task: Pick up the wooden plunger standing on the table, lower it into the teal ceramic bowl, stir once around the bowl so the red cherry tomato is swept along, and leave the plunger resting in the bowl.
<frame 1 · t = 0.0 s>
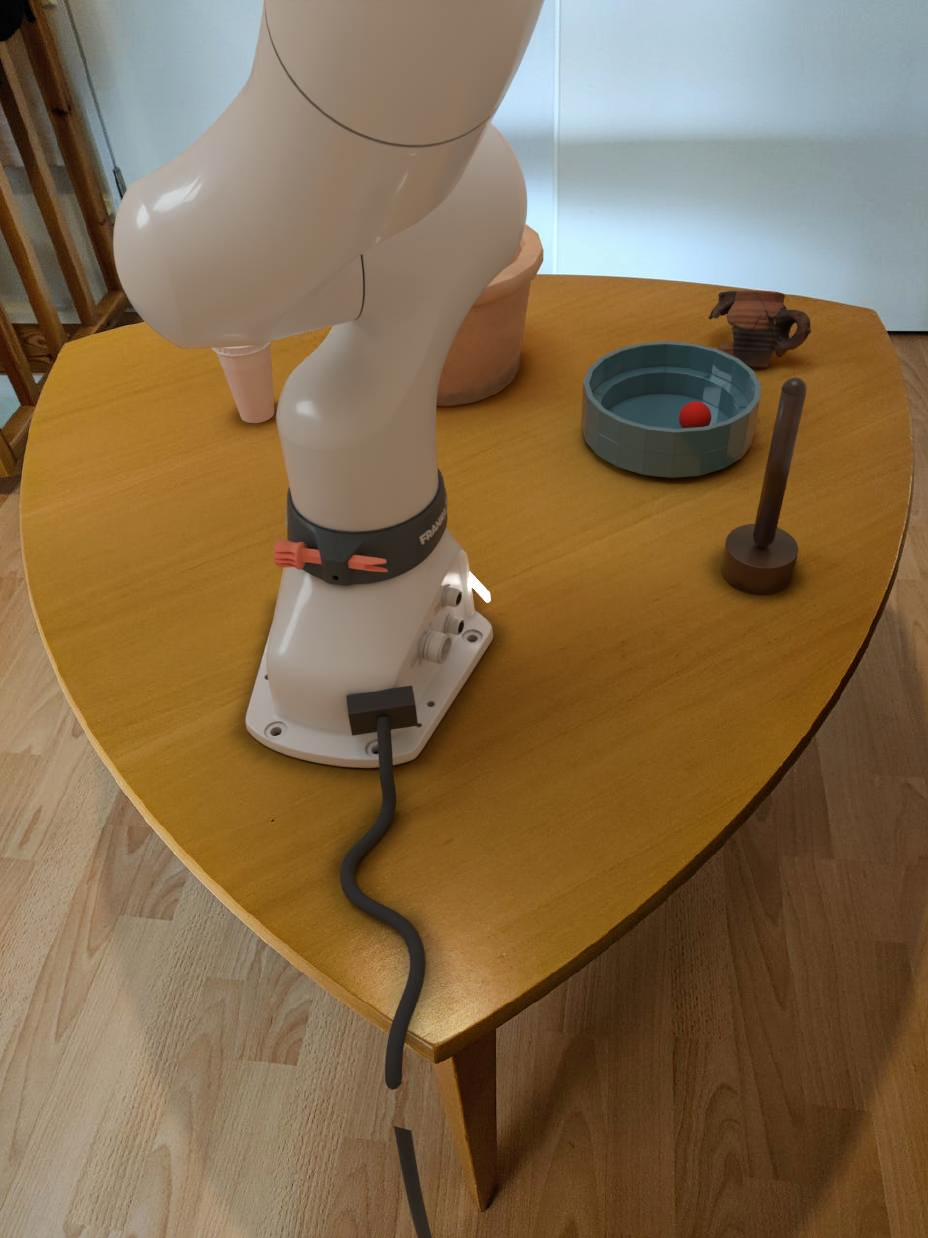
smoothie: (257, 415, 110), on the table
pottery: (446, 370, 115), on the table
bowl: (665, 435, 103), on the table
pottery mug: (753, 353, 115), on the table
wooden plunger: (756, 571, 87), on the table
cherry tomato: (695, 417, 101), point 2 cm above the table, tilted 79°, touching bowl
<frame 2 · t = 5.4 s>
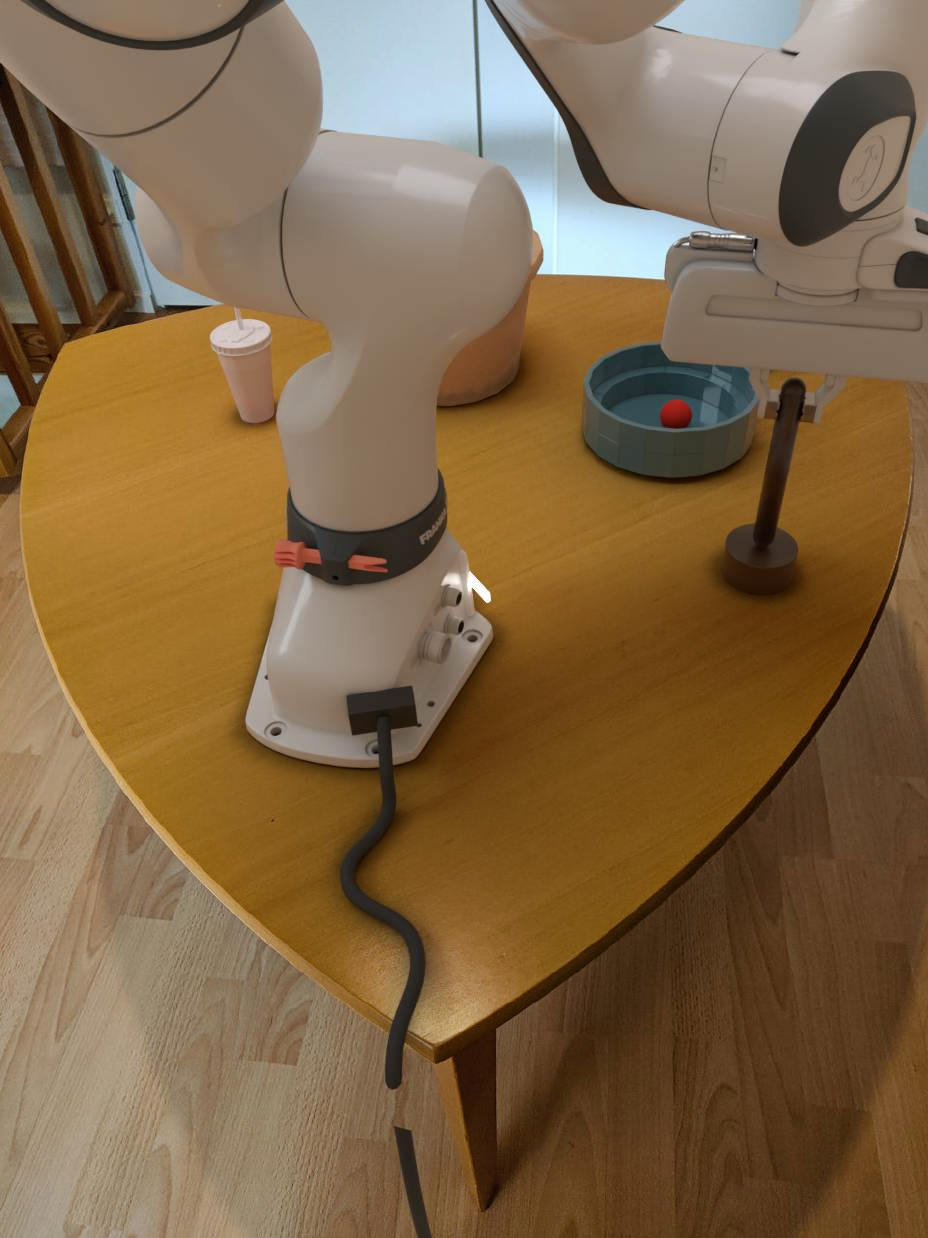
hand: (788, 417, 76), 16 cm above the table, tool pointing down, fingers closed on wooden plunger
wooden plunger: (756, 571, 87), on the table, touching gripper
cherry tomato: (675, 415, 101), point 2 cm above the table, tilted 144°, touching bowl
everything else where it was.
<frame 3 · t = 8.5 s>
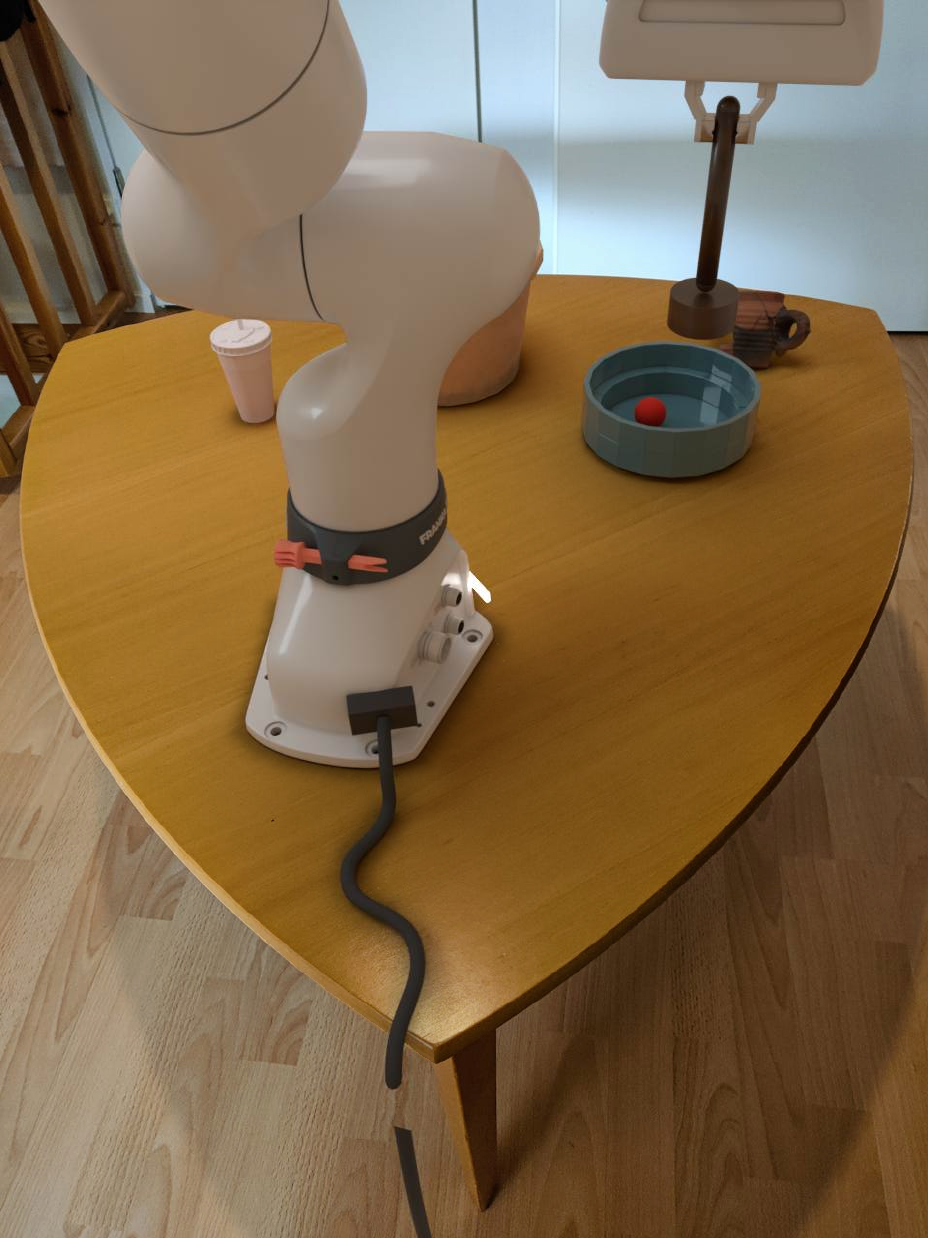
hand: (724, 141, 79), 30 cm above the table, tool pointing down, fingers closed on wooden plunger
wooden plunger: (700, 323, 90), point 15 cm above the table, touching gripper
cherry tomato: (650, 413, 102), point 2 cm above the table, tilted 123°, touching bowl
everything else where it was.
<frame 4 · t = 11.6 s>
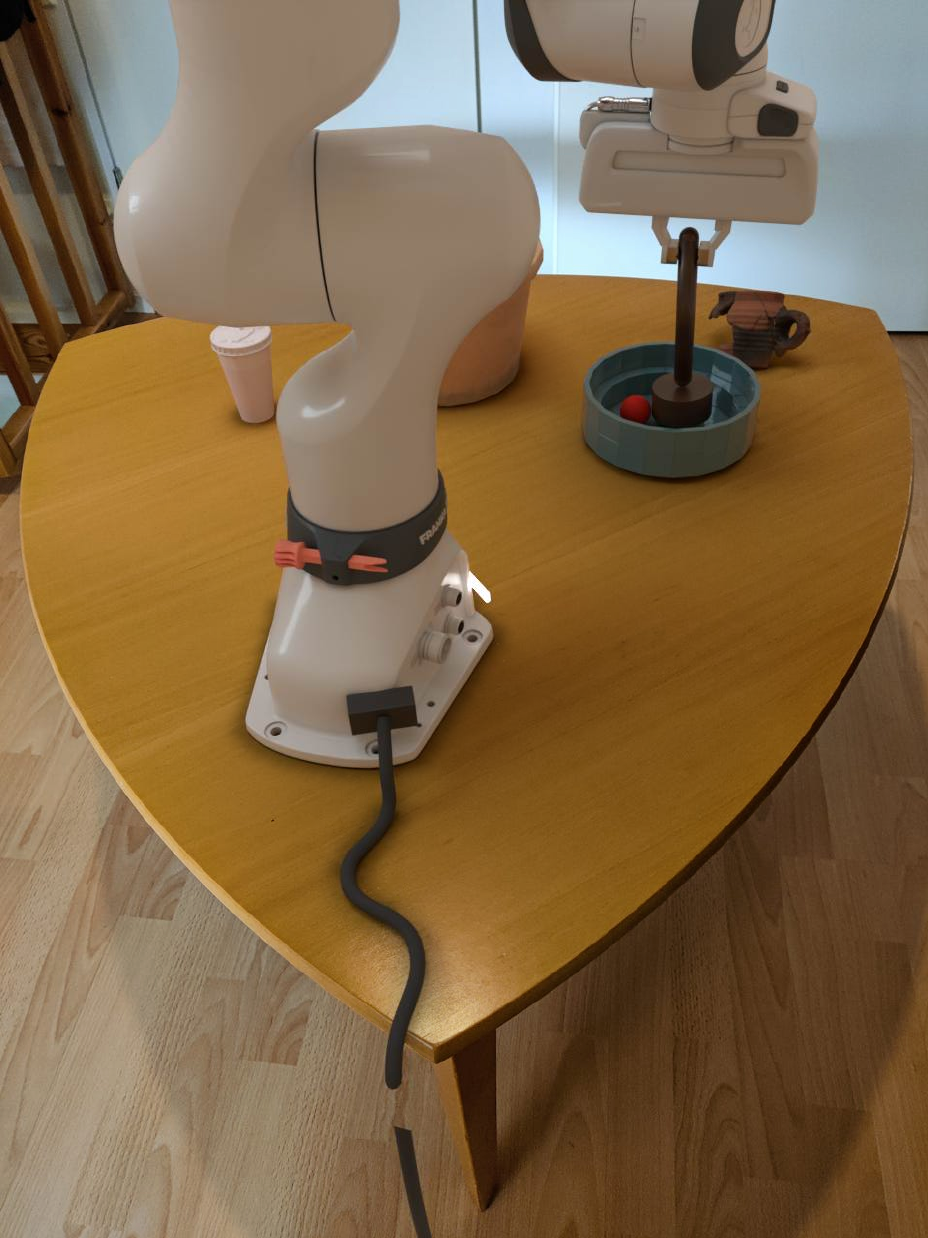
hand: (687, 262, 91), 18 cm above the table, tool pointing down, fingers closed on wooden plunger
wooden plunger: (681, 412, 102), point 2 cm above the table, touching gripper
cherry tomato: (635, 410, 102), point 2 cm above the table, tilted 69°, touching bowl
everything else where it was.
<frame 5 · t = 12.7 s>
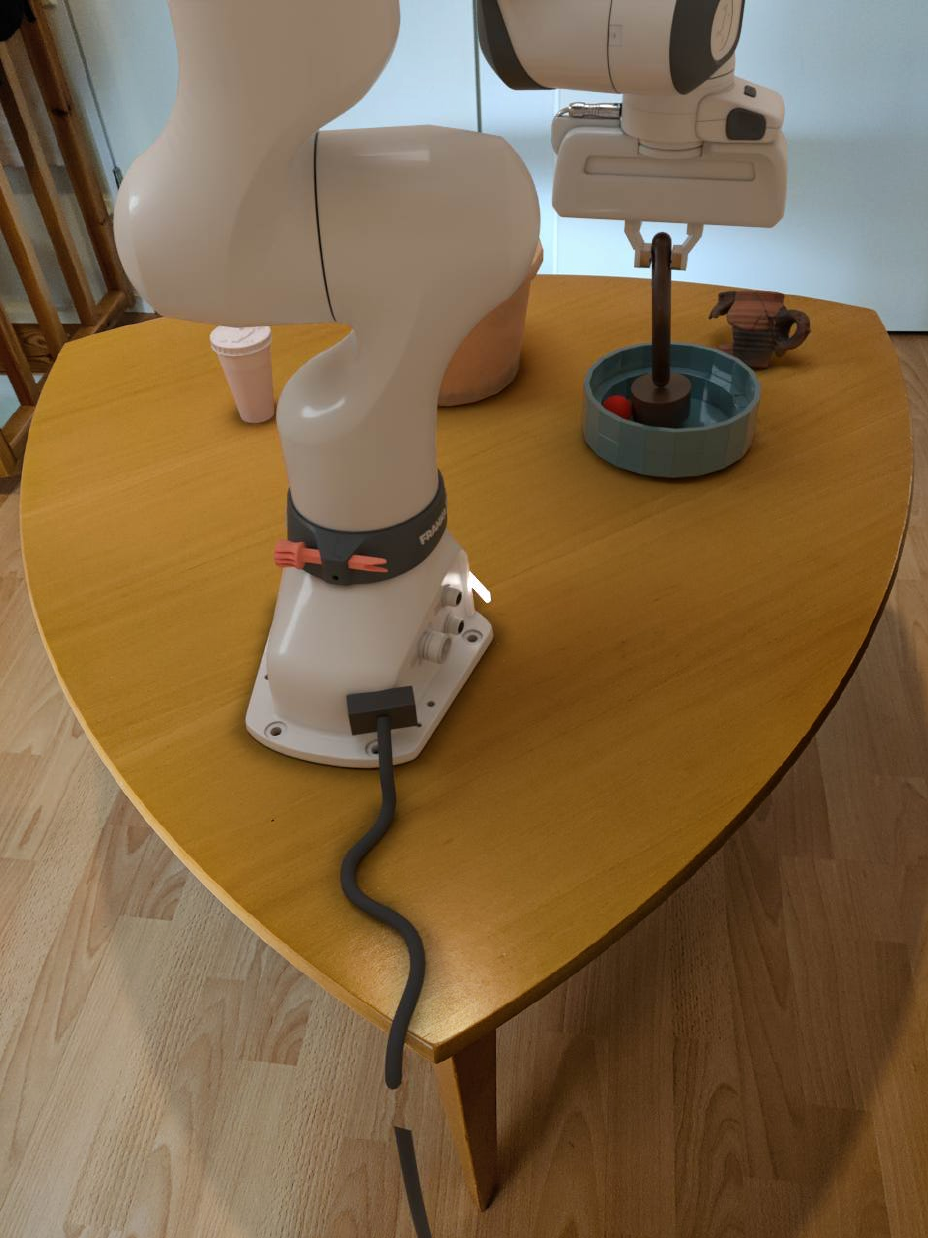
hand: (660, 266, 92), 17 cm above the table, tool pointing down, fingers closed on wooden plunger
wooden plunger: (660, 412, 103), point 2 cm above the table, tilted 5°, touching cherry tomato, gripper
cherry tomato: (616, 411, 102), point 2 cm above the table, tilted 13°, touching bowl, wooden plunger
everything else where it was.
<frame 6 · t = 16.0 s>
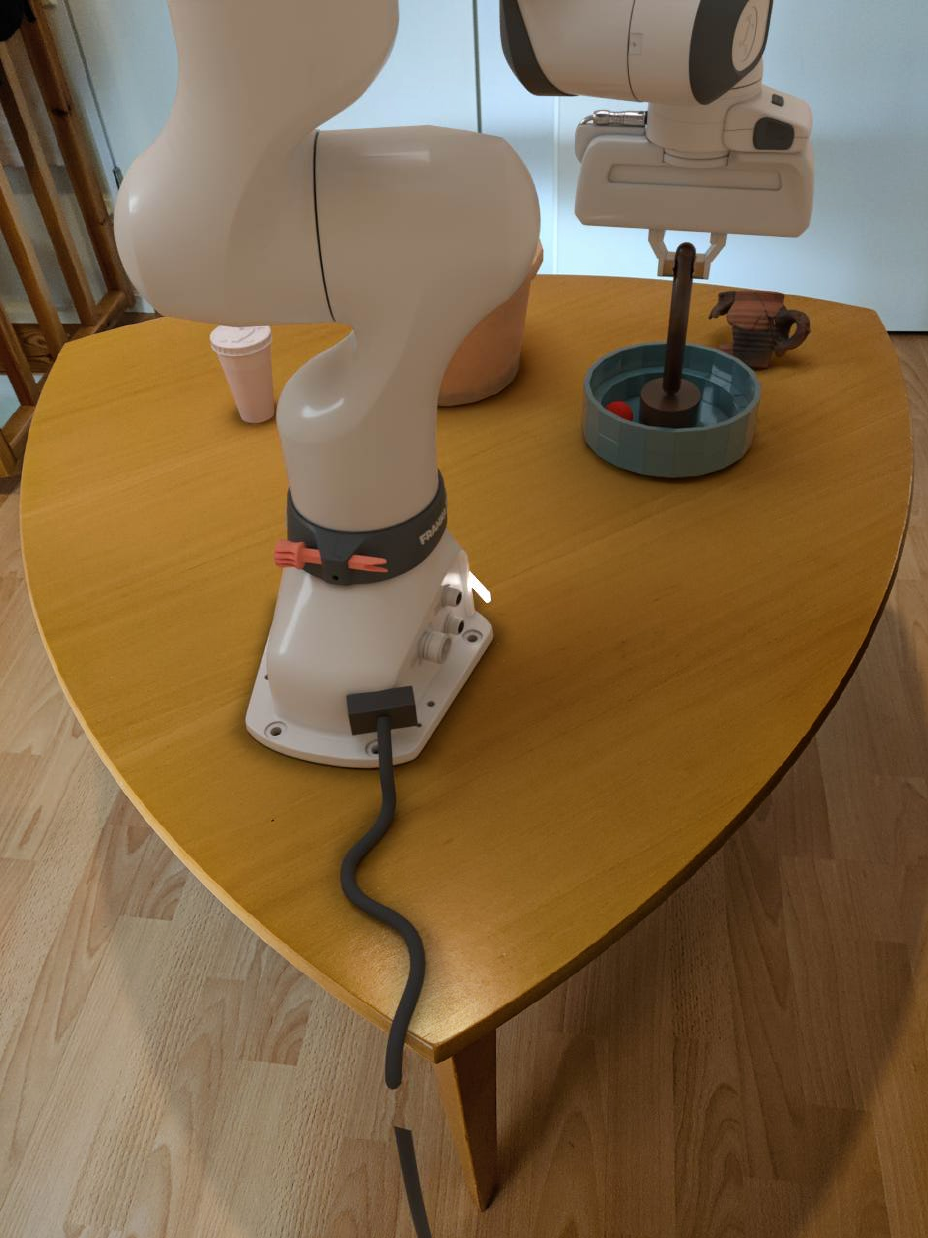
hand: (683, 275, 91), 17 cm above the table, tool pointing down, fingers closed on wooden plunger
wooden plunger: (667, 418, 103), point 1 cm above the table, touching gripper
cherry tomato: (617, 417, 101), point 2 cm above the table, tilted 48°, touching bowl
everything else where it was.
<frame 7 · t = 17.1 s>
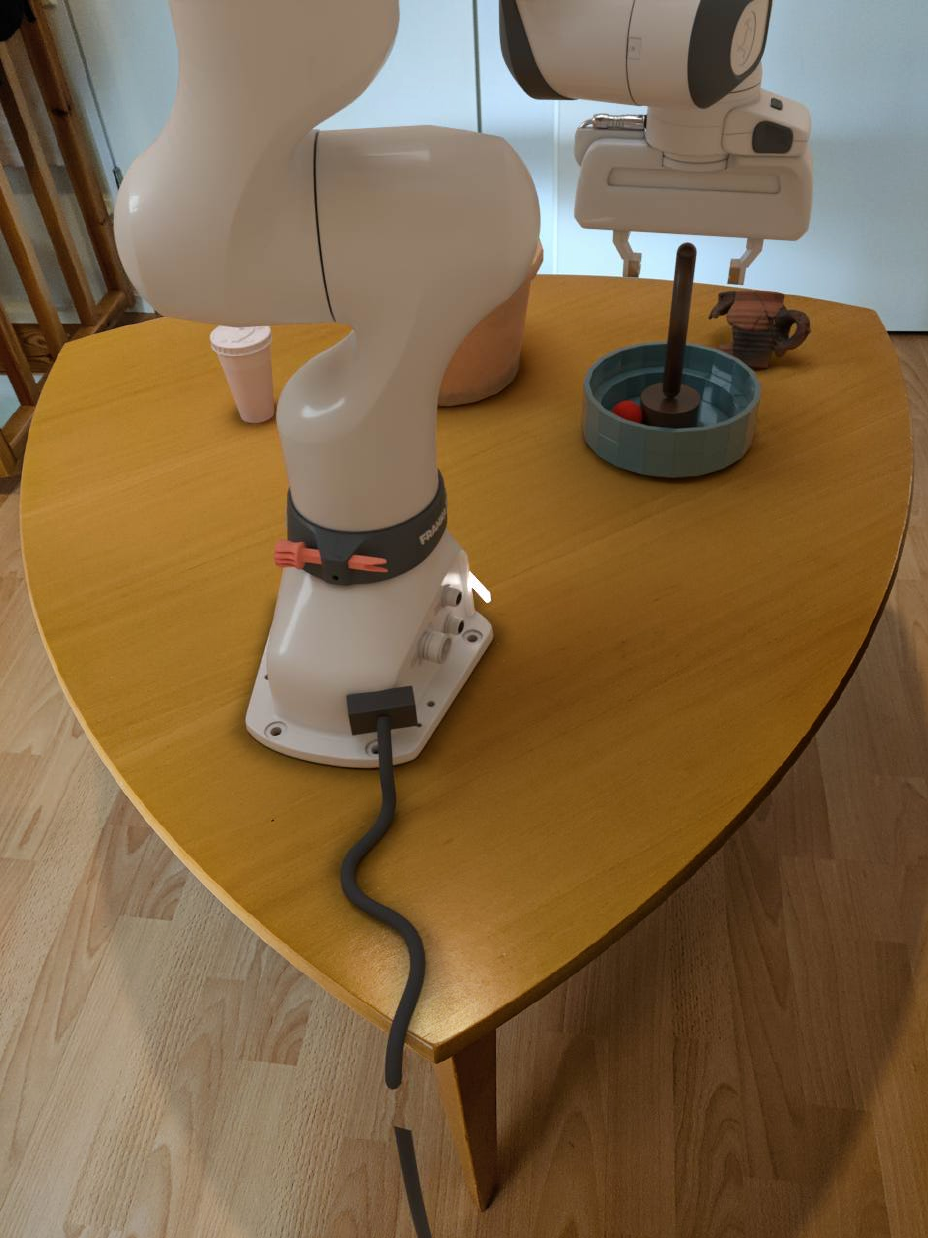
hand: (682, 278, 91), 17 cm above the table, tool pointing down, fingers open, 8 cm apart
wooden plunger: (667, 422, 103), point 1 cm above the table, touching bowl
cherry tomato: (626, 416, 101), point 2 cm above the table, tilted 55°, touching bowl
everything else where it was.
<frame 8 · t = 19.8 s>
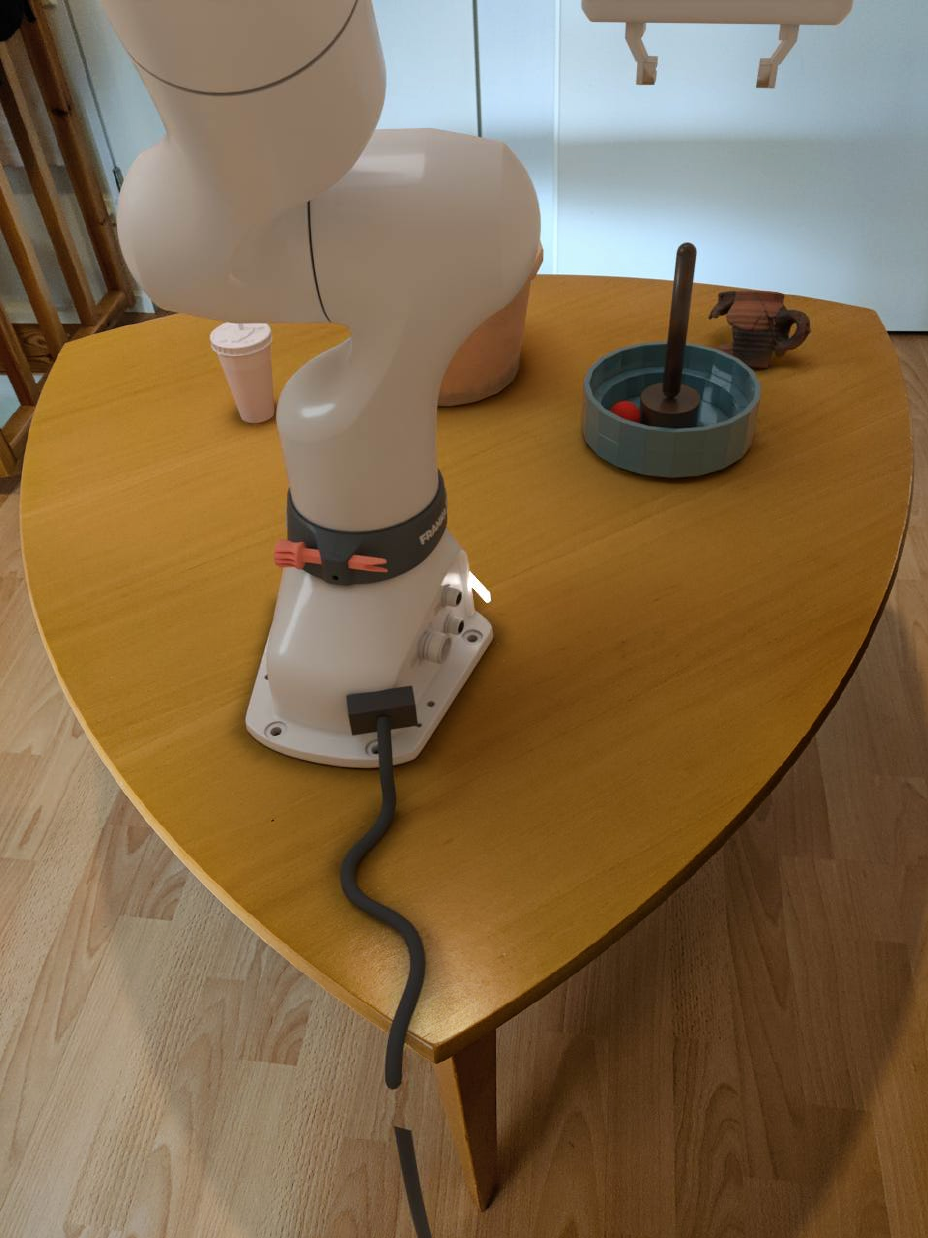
hand: (705, 84, 80), 33 cm above the table, tool pointing down, fingers open, 8 cm apart
nothing on the table moved.
at the end: wooden plunger inside the target area in the bowl (1.1 cm from its centre), point 0.8 cm above the bowl's base; cherry tomato moved 7.1 cm from its start; cherry tomato inside the target area in the bowl (4.5 cm from its centre), point 2.4 cm above the bowl's base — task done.
